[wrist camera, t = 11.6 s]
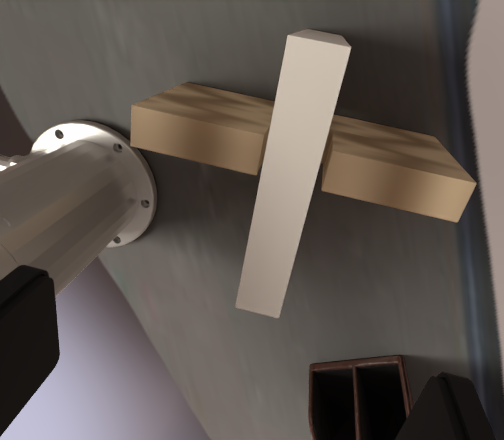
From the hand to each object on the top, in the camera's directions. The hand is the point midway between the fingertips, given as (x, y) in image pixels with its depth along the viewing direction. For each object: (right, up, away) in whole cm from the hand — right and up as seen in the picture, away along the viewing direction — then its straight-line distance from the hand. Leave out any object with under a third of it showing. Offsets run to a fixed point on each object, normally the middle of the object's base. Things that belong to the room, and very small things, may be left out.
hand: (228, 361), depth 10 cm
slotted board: (+5, +11, +22) cm, 25 cm away
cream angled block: (+5, +11, +22) cm, 25 cm away
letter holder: (+15, -20, +36) cm, 44 cm away
